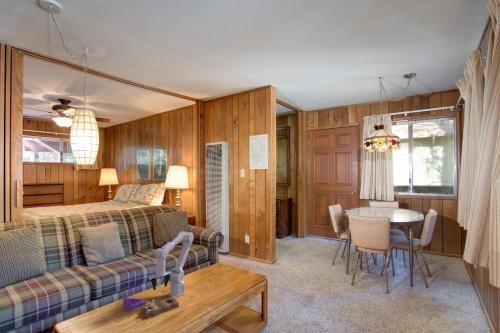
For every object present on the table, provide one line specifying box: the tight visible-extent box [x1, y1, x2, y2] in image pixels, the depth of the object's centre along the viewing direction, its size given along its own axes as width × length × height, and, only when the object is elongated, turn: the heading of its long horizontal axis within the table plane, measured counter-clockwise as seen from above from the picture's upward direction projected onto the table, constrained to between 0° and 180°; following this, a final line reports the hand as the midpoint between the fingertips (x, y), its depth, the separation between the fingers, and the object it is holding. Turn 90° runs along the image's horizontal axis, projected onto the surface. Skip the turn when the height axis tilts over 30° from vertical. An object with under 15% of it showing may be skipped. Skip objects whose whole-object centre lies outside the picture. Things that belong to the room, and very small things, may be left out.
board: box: [141, 296, 180, 320], centre depth 165 cm, size 20×10×3 cm, turn 132°
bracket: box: [122, 296, 147, 312], centre depth 169 cm, size 12×7×7 cm, turn 135°
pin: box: [148, 298, 155, 309], centre depth 161 cm, size 3×3×8 cm
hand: (160, 288), depth 172 cm, fingers open, 7 cm apart
